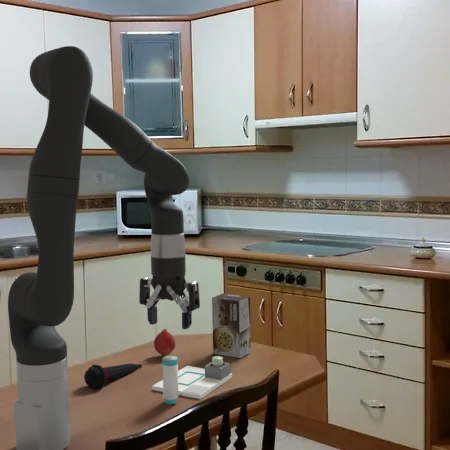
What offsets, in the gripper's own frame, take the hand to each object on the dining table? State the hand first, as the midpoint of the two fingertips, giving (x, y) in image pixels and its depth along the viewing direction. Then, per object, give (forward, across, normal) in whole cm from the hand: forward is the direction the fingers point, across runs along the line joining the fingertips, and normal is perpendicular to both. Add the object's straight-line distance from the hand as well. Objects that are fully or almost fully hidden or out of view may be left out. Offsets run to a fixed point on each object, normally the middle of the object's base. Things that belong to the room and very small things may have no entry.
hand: (169, 326), depth 142 cm
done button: (+14, +3, +17) cm, 23 cm away
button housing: (+17, +3, +17) cm, 24 cm away
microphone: (+18, -20, +7) cm, 28 cm away
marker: (+18, 0, 0) cm, 18 cm away
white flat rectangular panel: (+18, -2, +12) cm, 22 cm away
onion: (+18, -19, +27) cm, 37 cm away
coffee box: (+18, -4, +38) cm, 42 cm away
